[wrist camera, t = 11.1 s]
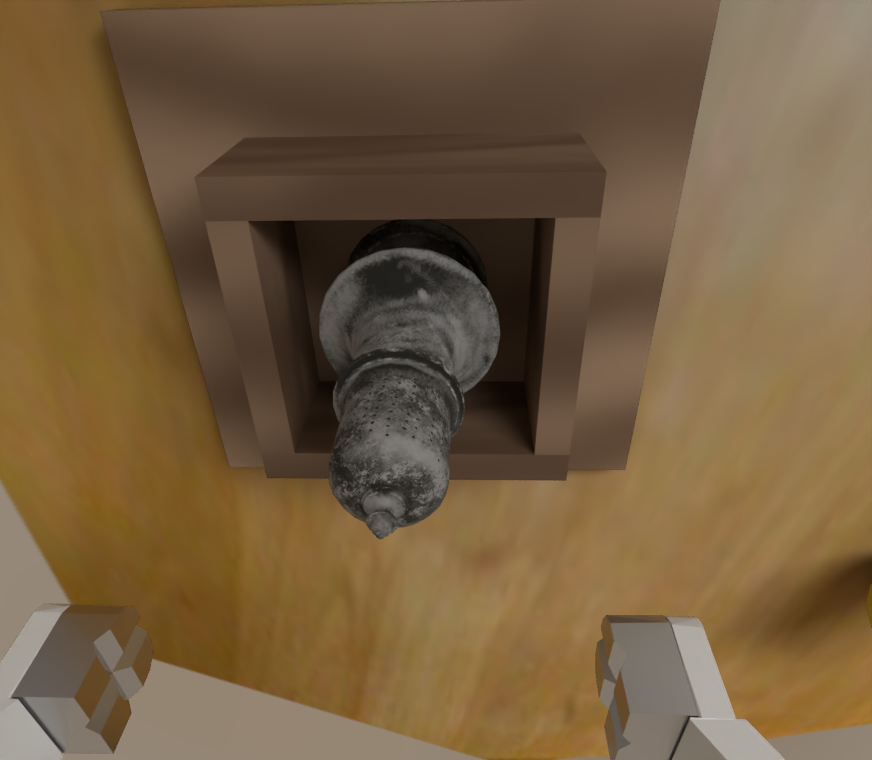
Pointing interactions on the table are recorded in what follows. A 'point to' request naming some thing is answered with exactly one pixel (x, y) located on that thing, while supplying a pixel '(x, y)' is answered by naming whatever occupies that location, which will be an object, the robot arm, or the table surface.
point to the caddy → (421, 199)
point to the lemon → (869, 604)
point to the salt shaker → (404, 366)
